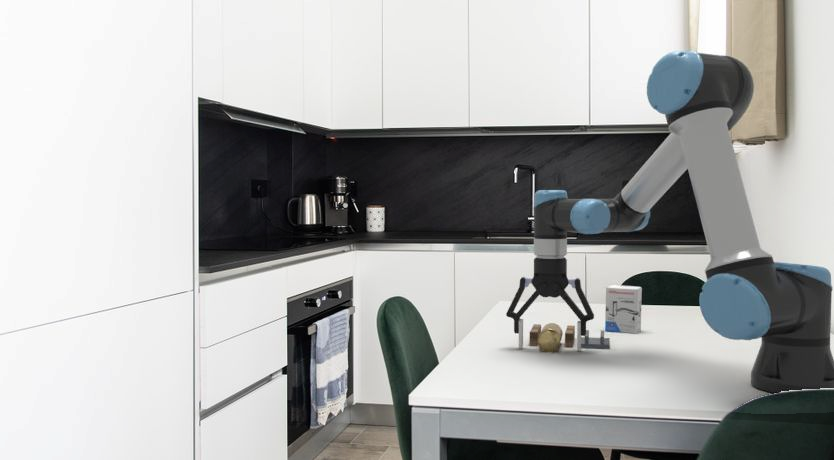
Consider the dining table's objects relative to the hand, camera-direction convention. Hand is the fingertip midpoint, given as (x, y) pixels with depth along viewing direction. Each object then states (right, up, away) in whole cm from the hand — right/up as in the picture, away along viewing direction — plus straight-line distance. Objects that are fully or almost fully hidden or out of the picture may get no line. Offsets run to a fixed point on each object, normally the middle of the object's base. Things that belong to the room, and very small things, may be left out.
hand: (549, 348), depth 192 cm
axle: (+1, +2, +3) cm, 4 cm away
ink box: (+23, +1, +25) cm, 34 cm away
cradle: (+11, 0, +5) cm, 13 cm away
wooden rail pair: (+2, 0, +10) cm, 10 cm away
